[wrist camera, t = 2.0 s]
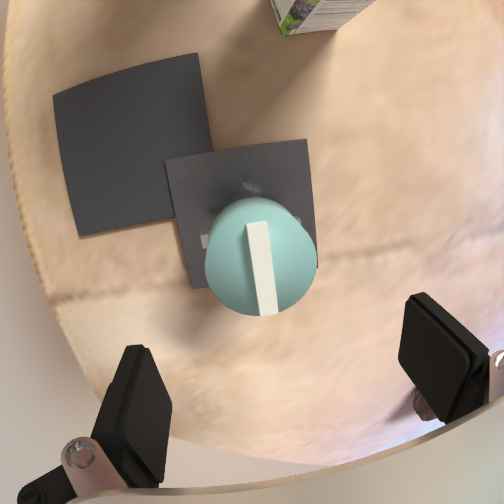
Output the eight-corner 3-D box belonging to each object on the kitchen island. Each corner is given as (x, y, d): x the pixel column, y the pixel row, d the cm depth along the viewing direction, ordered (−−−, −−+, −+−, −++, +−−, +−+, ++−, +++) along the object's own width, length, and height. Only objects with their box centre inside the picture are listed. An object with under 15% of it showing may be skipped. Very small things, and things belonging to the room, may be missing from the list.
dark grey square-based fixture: (167, 159, 25) (144, 168, 18) (303, 139, 26) (335, 139, 18) (193, 284, 30) (185, 332, 22) (315, 264, 30) (343, 304, 22)
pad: (55, 95, 22) (52, 95, 21) (198, 54, 22) (197, 52, 22) (81, 234, 27) (79, 236, 26) (221, 206, 27) (221, 208, 27)
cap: (200, 205, 19) (193, 226, 14) (295, 191, 19) (317, 207, 15) (217, 291, 21) (216, 331, 17) (303, 276, 21) (322, 312, 17)
